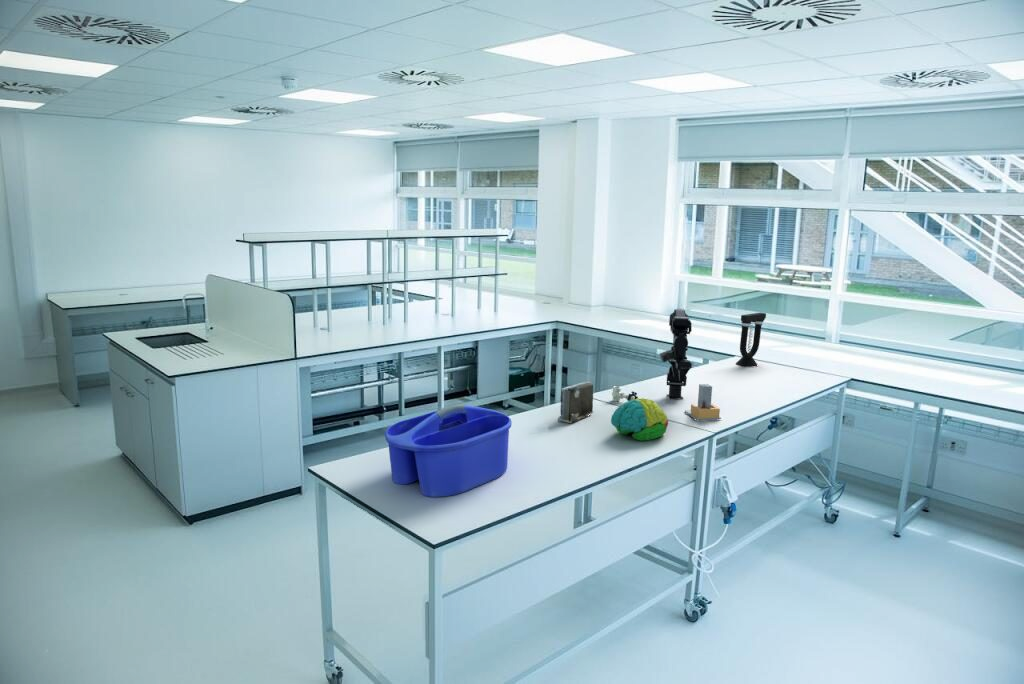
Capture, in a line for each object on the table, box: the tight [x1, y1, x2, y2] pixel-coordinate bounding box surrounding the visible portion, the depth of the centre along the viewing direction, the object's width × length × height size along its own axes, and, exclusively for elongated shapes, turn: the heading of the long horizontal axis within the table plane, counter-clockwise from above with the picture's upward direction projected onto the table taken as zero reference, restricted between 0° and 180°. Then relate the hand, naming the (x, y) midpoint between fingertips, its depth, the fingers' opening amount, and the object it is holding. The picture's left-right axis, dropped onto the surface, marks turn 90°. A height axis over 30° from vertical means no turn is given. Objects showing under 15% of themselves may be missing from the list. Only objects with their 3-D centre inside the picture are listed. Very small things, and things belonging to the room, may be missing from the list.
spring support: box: [735, 312, 767, 367], centre depth 376 cm, size 21×12×30 cm, turn 130°
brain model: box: [610, 397, 669, 442], centre depth 252 cm, size 24×19×15 cm
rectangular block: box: [697, 383, 713, 409], centre depth 277 cm, size 4×4×13 cm
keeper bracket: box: [684, 403, 722, 421], centre depth 278 cm, size 12×11×7 cm
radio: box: [557, 380, 594, 424], centre depth 276 cm, size 23×9×15 cm, turn 138°
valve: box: [611, 385, 639, 402], centre depth 298 cm, size 7×7×12 cm
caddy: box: [384, 404, 513, 498], centre depth 212 cm, size 32×45×23 cm
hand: (677, 379), depth 289 cm, fingers open, 9 cm apart
